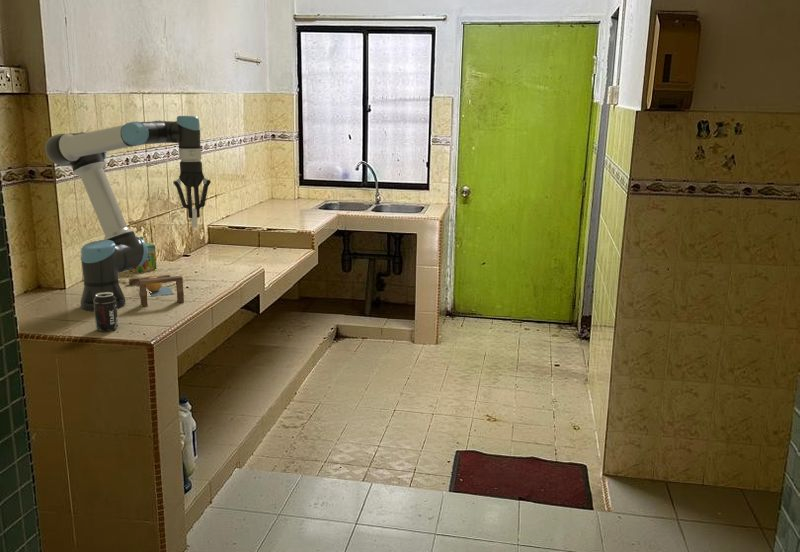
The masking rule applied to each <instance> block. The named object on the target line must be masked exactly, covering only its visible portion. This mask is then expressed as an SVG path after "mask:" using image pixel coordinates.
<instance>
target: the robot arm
mask: <svg viewBox="0 0 800 552" xmlns="http://www.w3.org/2000/svg"><path fill="white" fill-rule="evenodd" d="M153 144H178V157H179V160H180V162H179V169H180V170H179V172H180V173H179V176H178V178H177V179H176V180H173V181H172V184H173V185H174V186H175V187H176V190H177V193H178V196H179V200H180V203H181V206H182V207H183V208H184V209H187V216H188V218H189V219H191V227H192V228H198V227H199V226H198V219H199V218H200V217H201V214H200V213H201V212H200V209H201V208H204V207H205V206H206V200H207V196H208V195H207V194H208V189H209V187H210V184H211V182H212V181H211V179H207V178H206V177H205V175H204V172H203V162H202V161H201V160H202V158H203V157H202V145H201V125H200V120H199V117H198V116H197V115H178V116H177V117H176V121H172V120H171V121H170V120H169V121H167V120H152V121H130V122H126V123H125V124H122V125H117V126H113V127H107V128H103V129H98V130H93V131H87V132H82V131H81V132H77V133H76V132H74V133H57V134H55V135H52V136H51V137H49V138H48V140H46V142H45V146H44V150H45V151H44V152H45V155H46V157H47V159H48V160H49V161H50V162H52V164H54V165H57V166H61V167H71V168H72V169H71V170H72V171H73V174H76V175H77V176H80V179H81V181H82V184H83V186H84V189H85V190H86V193H87V196H88V198H89V201H90V203H91V205H92V208H93V211H94V212H95V215H96V217H97V220H98V223H99V225H100V227H101V228H102V231H103V234H104V237H103V239H101V240H100V239H99V240H94V241H90V242H88V243H86V244H84V245H83V246H82V247H81V249H80V260H81V267H82V268H81V269H82V270H81V271H82V277H83V279H82V280H83V290H82V295H81V297H80V309H81V310H83V311H89V312H94V298H95V294H97V293H102V292H112V293H113V295H114V296H115V297H116V304H117V309H119V308H122V307H124V306H125V305H126V297H125V294H124V293H123V290H122V288H121V286H120V283H119V274H121V273H123V272H127V271H128V270H132V269H135V268H137V267H139V266H141V265H143V264H144V262H145V261H146V258H147V255H148V249H147V245H146V242H145V240H142V239H141V238H139V237H140V236H136V233H135V231H134V230H133V229H131V228H128V227H129V226H128V225H127V223H126V221H125V219H124V215H123V213H122V210H121V209H120V206H119V202H118V201H117V199H116V197H115V194H114V191H113V189H112V187H111V184H110V182H109V179H108V177H107V175H106V172H105V169H104V168H105V166H106V161H105V160H106V157H107V152H111V151H116V150H117V151H118V150H120V149H127V148H131V147H138V146H142V145H143V146H144V145H153ZM182 184H183V185H184V186H185V189H186V200H185V196H184V193H183V192H184V191H183V189H182V187H181V185H182ZM201 184H203V186H202V192H201V196H200V193H199V192H200V191H199V190H200V189H199V186H200V185H201ZM192 188H193V197H194V208H193V199H192ZM186 202H187V203H186Z"/></svg>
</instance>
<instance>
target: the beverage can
mask: <svg viewBox="0 0 800 552" xmlns="http://www.w3.org/2000/svg"><path fill="white" fill-rule="evenodd" d="M93 312H94V320H95V328H96V330H97V331H99V332H103V331H107V332H112V331H115V330H116V329H117V328H118V327H119V317H118V308H117V304H116V297H115V296H114V295H113V293H112V292H102V293H97V294H95V298H94V311H93ZM114 329H115V330H114ZM111 330H112V331H111Z"/></svg>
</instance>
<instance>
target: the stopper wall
mask: <svg viewBox="0 0 800 552" xmlns="http://www.w3.org/2000/svg"><path fill="white" fill-rule="evenodd" d="M150 277H157V278H160V277H171V275H170V274H164V275H163V274H161V275H150V276H141V277H140V276H139V277H130V278H128V282H129V283H128V284H129V286H138V285H137V284H139V279H148V278H150Z"/></svg>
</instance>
